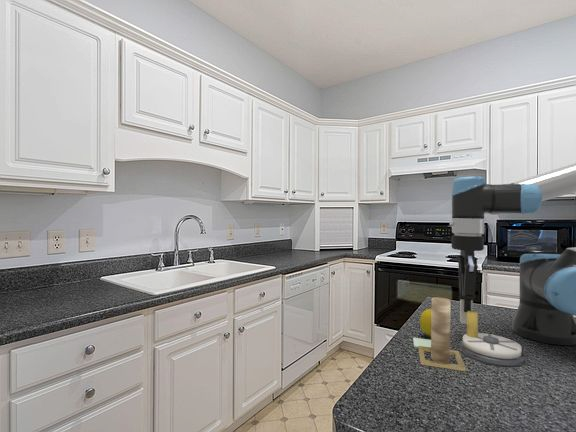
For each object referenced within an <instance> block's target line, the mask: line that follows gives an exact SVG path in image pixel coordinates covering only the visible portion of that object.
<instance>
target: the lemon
mask: <svg viewBox="0 0 576 432" xmlns="http://www.w3.org/2000/svg"><path fill="white" fill-rule="evenodd" d="M419 326H420V327H419V328H420V329H421V331H422V333H424V334H425V335H427V336H428V338H431V308H428V309H425V310H423V311H422V312H421V315H420V318H419Z"/></svg>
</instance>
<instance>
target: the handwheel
mask: <svg viewBox="0 0 576 432" xmlns="http://www.w3.org/2000/svg"><path fill="white" fill-rule="evenodd" d="M478 324H479V314H478V312H477V311H474V310H473V311H467V324H466V333H465V334H463V336H462V341H463V345H464V346H465V347H466V348H467V349H469V350H471V351H473V352H476V353H478V354H481V355H485V356H489V357H494V358H500V359H515V358H519V357H520V356H521V352H522V350H523V349H522V346H521V344H519V343H518V342H516V341H514V340H512V339H510V338H506V337H504V336H501V335H497V334H496V335H495V334H492V333H485V332H484V333H483V332H479V325H478Z"/></svg>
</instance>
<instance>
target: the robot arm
mask: <svg viewBox="0 0 576 432" xmlns="http://www.w3.org/2000/svg"><path fill="white" fill-rule="evenodd" d="M573 193H576V162H575V163H572V164H568V165H566V166H561V167H559V168H557V169H556V168H555V169H552V170H550V171H547V172H544V173H543V172H542V173H539V174H538V175H534V176H530V177H527V178H524V179H520V180H517V181H515V182H511V183H503V184H500V183H499V184H488V183H486V179H485V177H483V176H478V175H477V176H473V175H472V176H460V177H456V178H455V179H454V180H453V182H452V194H451V209H452V210H451V221H450V222H449V226H450V227H451V233H453V235H452V236H451V249H452V250H456V251H457V250H458V251H460V253H459V255H458V256H457V265H458V293H459V296H458V300H459V303H460V304H459V323H460V324H464V325H467V311H474V300H476V287H477V285H476V283H477V273H478V268H479V266H478V264H477V263H478V259H477V257H475V255H476V254H475V251H476V252H480V251H481V252H482V251H484V249H485V246H484V245H485V237H484V236H482V235H484V234H485V214H490V215H499V214H522V215H525V214H536V213H537V212H538V211H539V210H541V206H542V203H543V202H545V201H548V200H551V199H552V200H553V199H555V198H559V197H563V196H565V195H566V196H567V195H569V194H573ZM518 267H519V302H518V303H519V304H518V307H517V309H516V312H515V314H514V316H513V319H512V321H511V330H512V331H513V333H515V334H517V335H519V336H522V337H523V338H526V339H529V340H532V341H536V342H541V343H546V344H552V345H559V346H576V319H575V316H576V247H567V248H566V249H565V250H564V251H563V252H562V253H561V254H558V253H553V254H552V253H525V254H524V253H523V254H522V255H520V258H519V263H518Z"/></svg>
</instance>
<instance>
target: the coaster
mask: <svg viewBox="0 0 576 432" xmlns="http://www.w3.org/2000/svg"><path fill="white" fill-rule="evenodd" d="M412 342H413V348H415V349H418V346H424V347H431V339H429V338H428V339H426V338H420V337H419V338H418V337H412Z"/></svg>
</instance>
